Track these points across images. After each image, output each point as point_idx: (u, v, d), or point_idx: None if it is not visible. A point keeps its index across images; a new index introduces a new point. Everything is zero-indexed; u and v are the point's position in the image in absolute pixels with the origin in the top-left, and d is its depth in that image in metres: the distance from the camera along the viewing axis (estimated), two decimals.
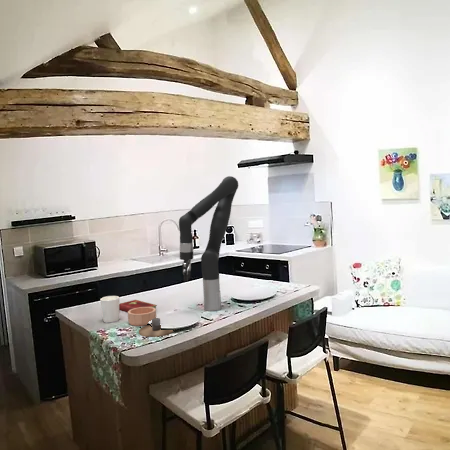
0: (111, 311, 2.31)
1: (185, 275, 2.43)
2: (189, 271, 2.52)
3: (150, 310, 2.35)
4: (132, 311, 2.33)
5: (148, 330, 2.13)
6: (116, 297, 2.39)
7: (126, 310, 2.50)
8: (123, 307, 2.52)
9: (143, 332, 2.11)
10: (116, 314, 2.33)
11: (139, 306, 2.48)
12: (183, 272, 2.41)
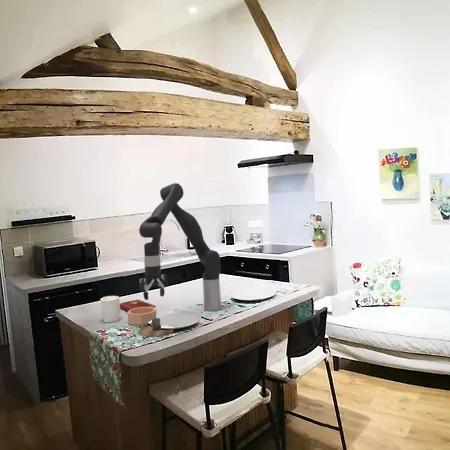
0: (111, 311, 2.31)
1: None
2: None
3: (150, 310, 2.35)
4: (132, 311, 2.33)
5: (148, 330, 2.13)
6: (116, 297, 2.39)
7: (126, 310, 2.51)
8: (123, 306, 2.53)
9: (143, 332, 2.11)
10: (116, 314, 2.33)
11: (138, 306, 2.48)
12: None
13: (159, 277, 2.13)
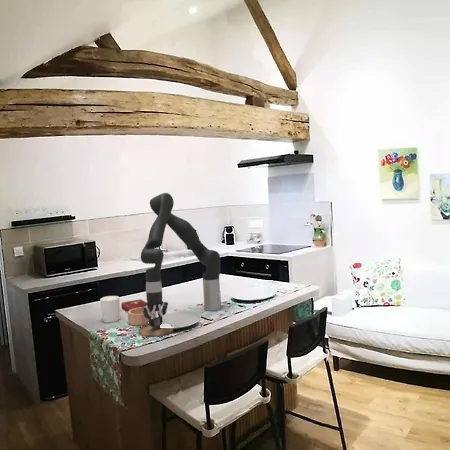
0: (111, 311, 2.31)
1: None
2: None
3: None
4: (132, 311, 2.33)
5: (148, 329, 2.13)
6: (116, 297, 2.39)
7: (126, 309, 2.52)
8: (124, 306, 2.54)
9: (143, 331, 2.11)
10: (116, 314, 2.33)
11: (137, 306, 2.48)
12: None
13: (161, 302, 2.14)
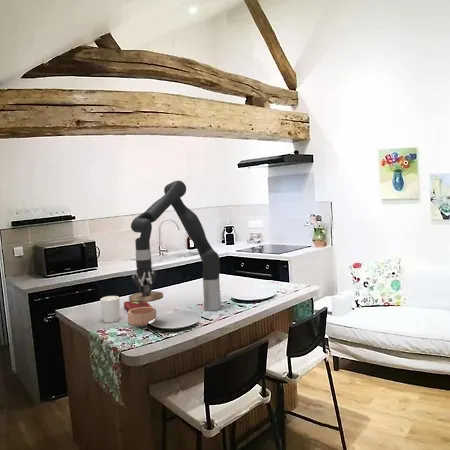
0: (111, 311, 2.31)
1: None
2: None
3: (150, 310, 2.35)
4: (132, 311, 2.33)
5: (138, 296, 2.22)
6: (116, 297, 2.39)
7: (126, 309, 2.53)
8: (125, 305, 2.55)
9: (133, 298, 2.20)
10: (116, 314, 2.33)
11: (136, 306, 2.48)
12: None
13: (150, 270, 2.23)
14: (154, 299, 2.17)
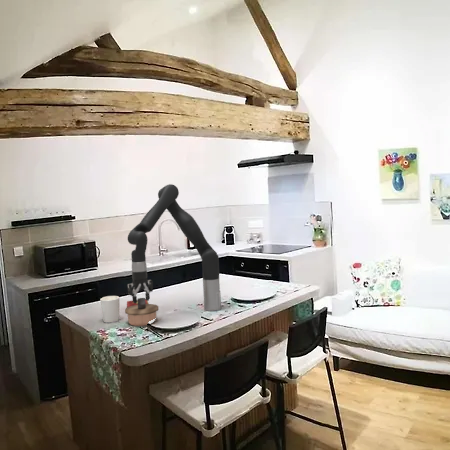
0: (111, 311, 2.31)
1: None
2: None
3: None
4: None
5: (134, 309, 2.29)
6: (116, 297, 2.39)
7: None
8: (127, 305, 2.56)
9: (129, 310, 2.26)
10: (116, 314, 2.33)
11: None
12: None
13: (145, 281, 2.30)
14: (149, 312, 2.23)
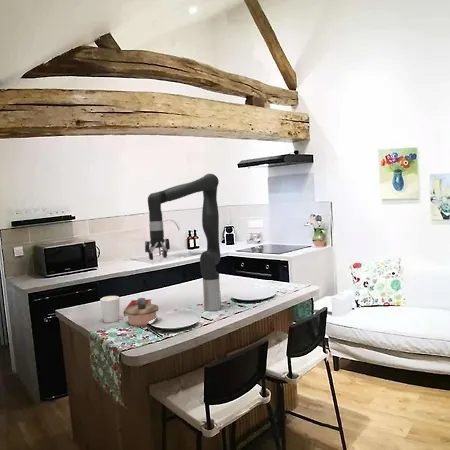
0: (111, 311, 2.31)
1: None
2: None
3: None
4: None
5: (134, 309, 2.29)
6: (116, 297, 2.39)
7: None
8: None
9: (129, 310, 2.26)
10: (116, 314, 2.33)
11: None
12: None
13: (162, 240, 2.44)
14: (149, 312, 2.23)
